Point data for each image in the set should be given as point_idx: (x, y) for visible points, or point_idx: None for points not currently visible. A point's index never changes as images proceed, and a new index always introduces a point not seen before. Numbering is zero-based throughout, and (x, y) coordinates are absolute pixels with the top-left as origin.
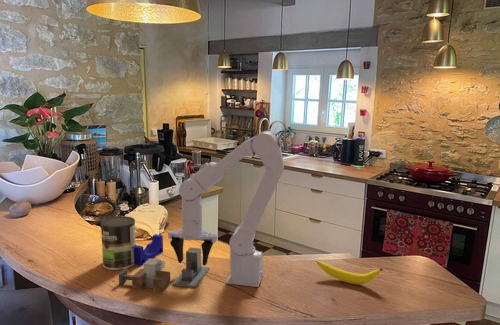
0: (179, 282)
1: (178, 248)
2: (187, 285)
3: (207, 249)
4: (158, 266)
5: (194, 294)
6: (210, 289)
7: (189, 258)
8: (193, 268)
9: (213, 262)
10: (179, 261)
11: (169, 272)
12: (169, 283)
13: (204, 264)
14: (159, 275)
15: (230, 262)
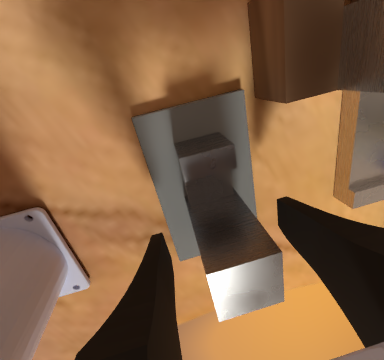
0: (218, 111)
1: (347, 243)
2: (172, 107)
3: (100, 331)
4: (379, 52)
5: (98, 60)
6: (66, 137)
7: (242, 231)
8: (207, 207)
9: (194, 292)
10: (285, 199)
11: (286, 94)
12: (257, 87)
13: (152, 237)
14: (325, 29)
15: (5, 305)
